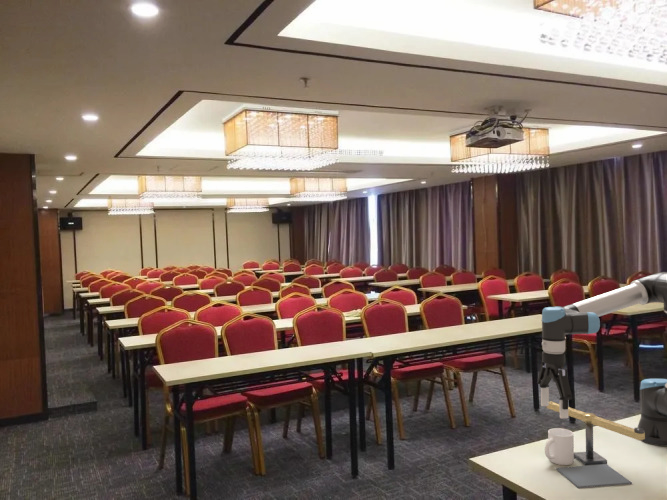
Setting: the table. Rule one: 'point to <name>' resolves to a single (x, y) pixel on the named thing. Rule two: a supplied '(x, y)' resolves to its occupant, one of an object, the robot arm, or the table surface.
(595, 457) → the lever post
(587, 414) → the lever
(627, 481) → the felt mat
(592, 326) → the robot arm
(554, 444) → the mug
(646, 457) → the table surface
